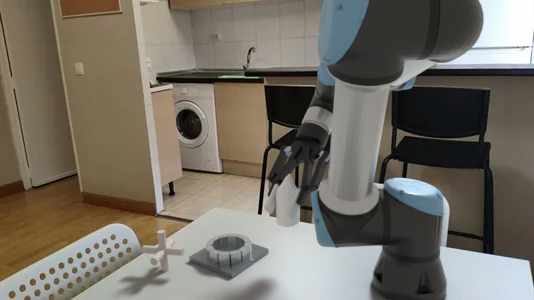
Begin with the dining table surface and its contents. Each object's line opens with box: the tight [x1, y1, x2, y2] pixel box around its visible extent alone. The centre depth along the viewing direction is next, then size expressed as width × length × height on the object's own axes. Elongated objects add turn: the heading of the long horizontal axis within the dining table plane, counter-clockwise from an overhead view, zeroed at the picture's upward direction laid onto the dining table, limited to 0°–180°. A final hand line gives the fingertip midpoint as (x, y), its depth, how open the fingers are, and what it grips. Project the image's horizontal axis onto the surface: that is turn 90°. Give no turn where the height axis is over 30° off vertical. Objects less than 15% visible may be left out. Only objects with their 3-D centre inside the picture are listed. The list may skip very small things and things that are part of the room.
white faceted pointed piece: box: [275, 173, 301, 228], centre depth 101 cm, size 6×12×6 cm
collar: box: [188, 233, 270, 279], centre depth 109 cm, size 14×14×4 cm
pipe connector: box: [141, 229, 185, 272], centre depth 103 cm, size 10×10×10 cm
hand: (278, 213), depth 99 cm, fingers closed on white faceted pointed piece, 5 cm apart
